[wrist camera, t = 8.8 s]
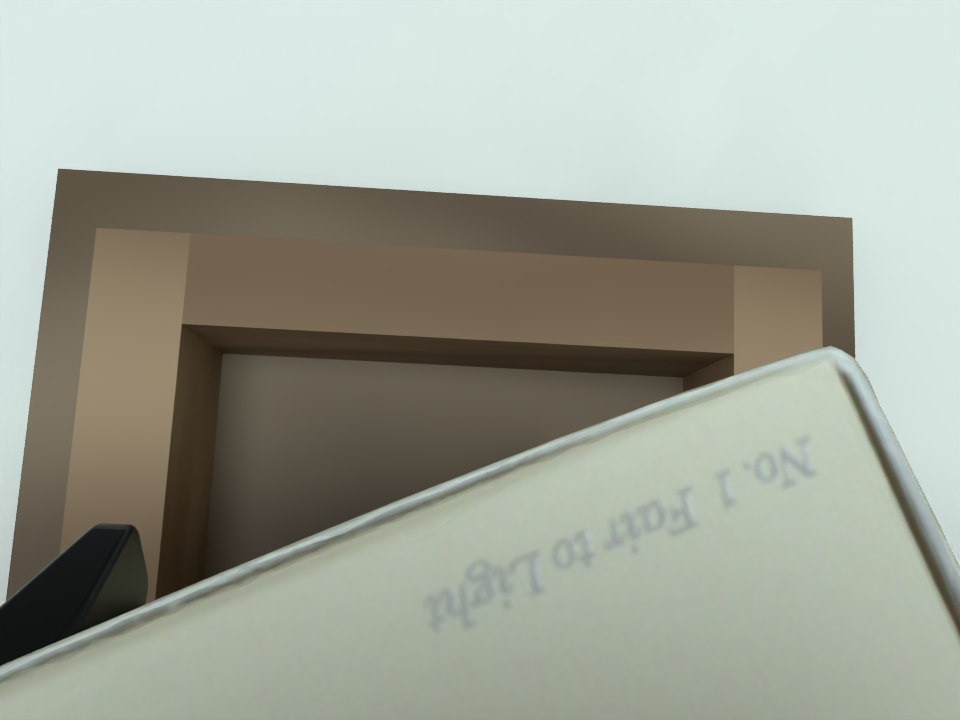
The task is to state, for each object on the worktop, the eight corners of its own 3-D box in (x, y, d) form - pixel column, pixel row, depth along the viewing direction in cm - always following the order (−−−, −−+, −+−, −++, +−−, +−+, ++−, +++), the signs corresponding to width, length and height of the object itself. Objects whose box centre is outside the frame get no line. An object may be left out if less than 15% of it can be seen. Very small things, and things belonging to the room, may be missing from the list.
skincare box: (558, 440, 17) (881, 284, 5) (650, 667, 17) (1247, 1080, 5) (239, 566, 16) (-248, 724, 4) (323, 808, 16) (25, 1738, 4)
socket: (844, 1046, 17) (969, 1209, 13) (-22, 1035, 16) (-165, 1205, 12) (831, 232, 20) (932, 164, 16) (77, 186, 19) (-15, 102, 15)
